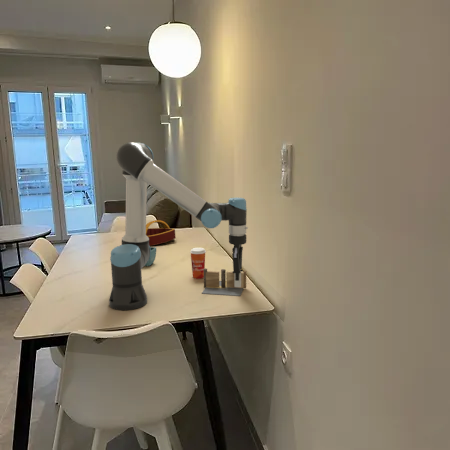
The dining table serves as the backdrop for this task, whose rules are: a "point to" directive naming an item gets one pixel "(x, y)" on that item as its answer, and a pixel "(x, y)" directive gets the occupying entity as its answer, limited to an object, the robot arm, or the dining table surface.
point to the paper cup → (198, 262)
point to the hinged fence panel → (231, 279)
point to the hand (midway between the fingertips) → (237, 286)
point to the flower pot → (152, 257)
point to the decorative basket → (159, 233)
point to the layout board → (223, 290)
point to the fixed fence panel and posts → (214, 278)
